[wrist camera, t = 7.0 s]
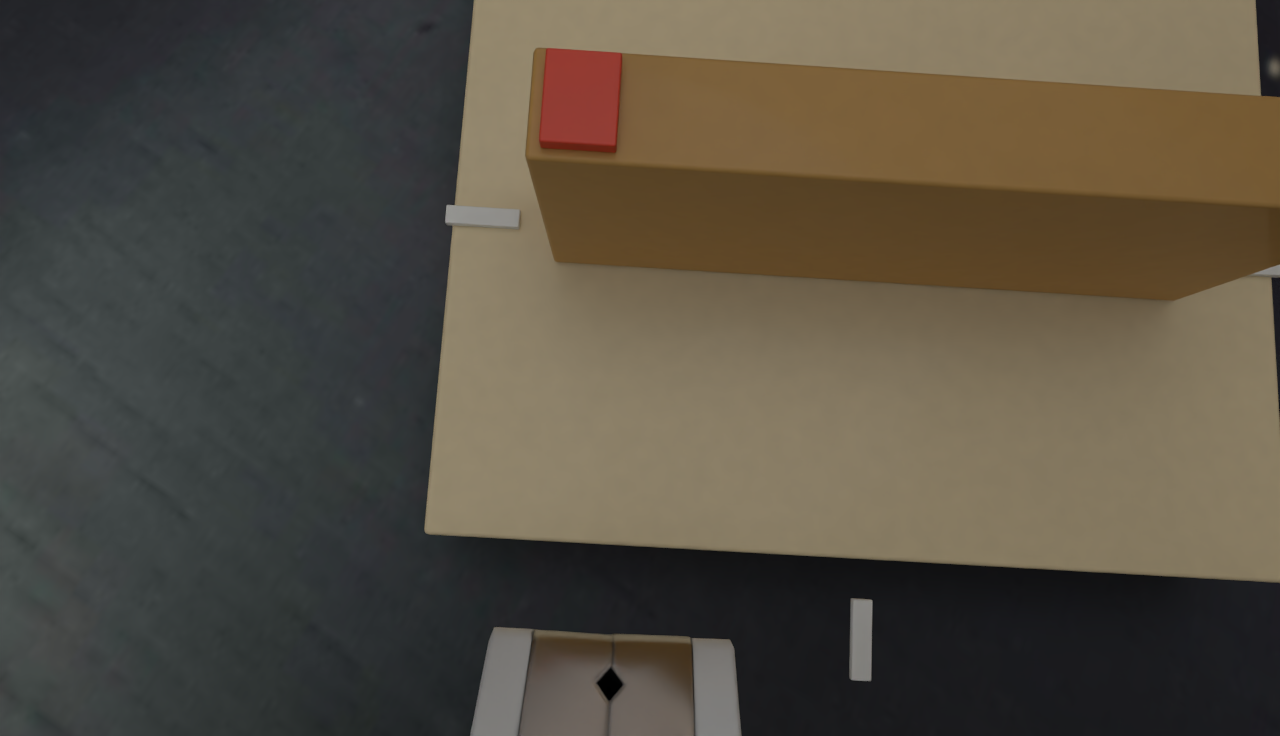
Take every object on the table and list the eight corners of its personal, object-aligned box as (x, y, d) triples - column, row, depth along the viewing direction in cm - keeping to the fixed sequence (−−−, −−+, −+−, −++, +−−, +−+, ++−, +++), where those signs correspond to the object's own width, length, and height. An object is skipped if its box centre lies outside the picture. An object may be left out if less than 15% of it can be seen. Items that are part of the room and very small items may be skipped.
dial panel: (1163, -19, 20) (1262, -111, 17) (1189, 668, 18) (1310, 705, 15) (503, -65, 20) (482, -168, 17) (441, 627, 18) (403, 656, 15)
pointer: (1172, 221, 16) (1432, 96, 11) (1175, 301, 16) (1443, 210, 11) (559, 182, 16) (531, 35, 11) (553, 262, 16) (521, 151, 11)
